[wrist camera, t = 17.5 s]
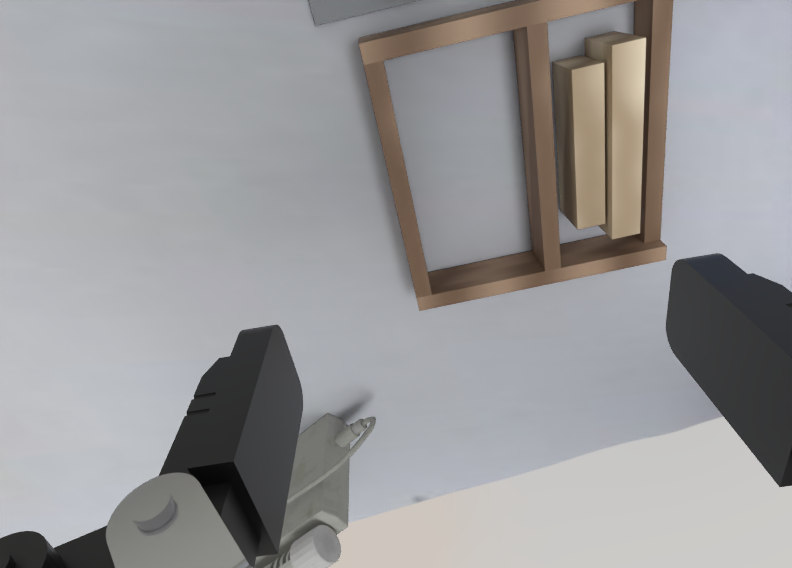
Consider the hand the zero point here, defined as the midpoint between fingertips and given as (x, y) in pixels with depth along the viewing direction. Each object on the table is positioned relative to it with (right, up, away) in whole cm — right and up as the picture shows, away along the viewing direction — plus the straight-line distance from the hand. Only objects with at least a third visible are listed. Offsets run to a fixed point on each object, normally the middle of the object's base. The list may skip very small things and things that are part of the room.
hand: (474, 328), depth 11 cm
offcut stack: (+12, +12, +27) cm, 32 cm away
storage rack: (+7, +11, +27) cm, 30 cm away
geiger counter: (-13, -16, +42) cm, 47 cm away
